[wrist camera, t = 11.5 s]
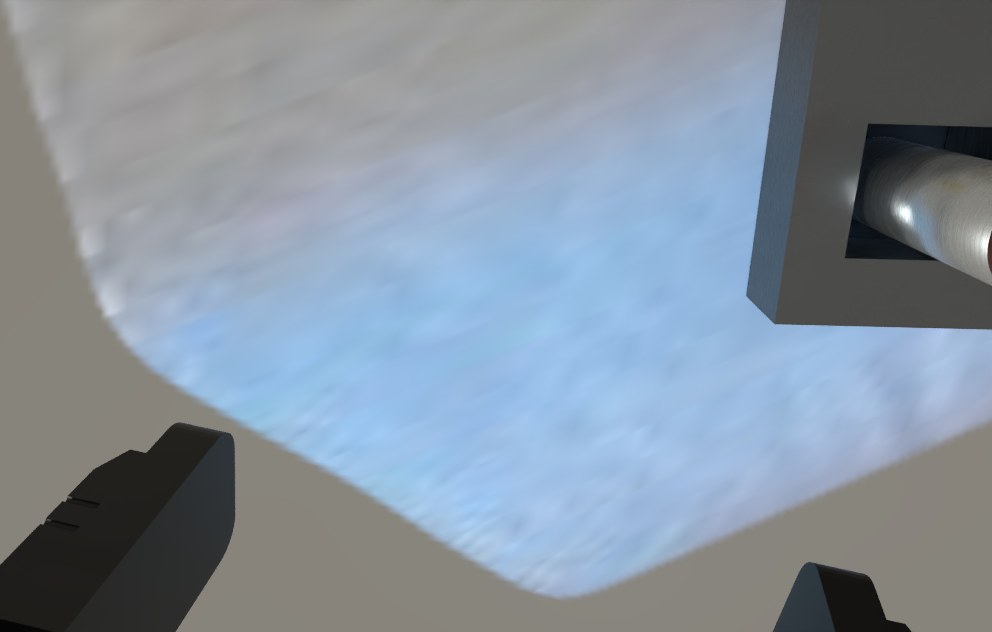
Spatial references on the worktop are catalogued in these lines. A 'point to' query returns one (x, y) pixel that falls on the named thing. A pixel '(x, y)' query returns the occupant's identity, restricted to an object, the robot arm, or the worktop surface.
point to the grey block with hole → (838, 154)
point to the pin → (929, 201)
